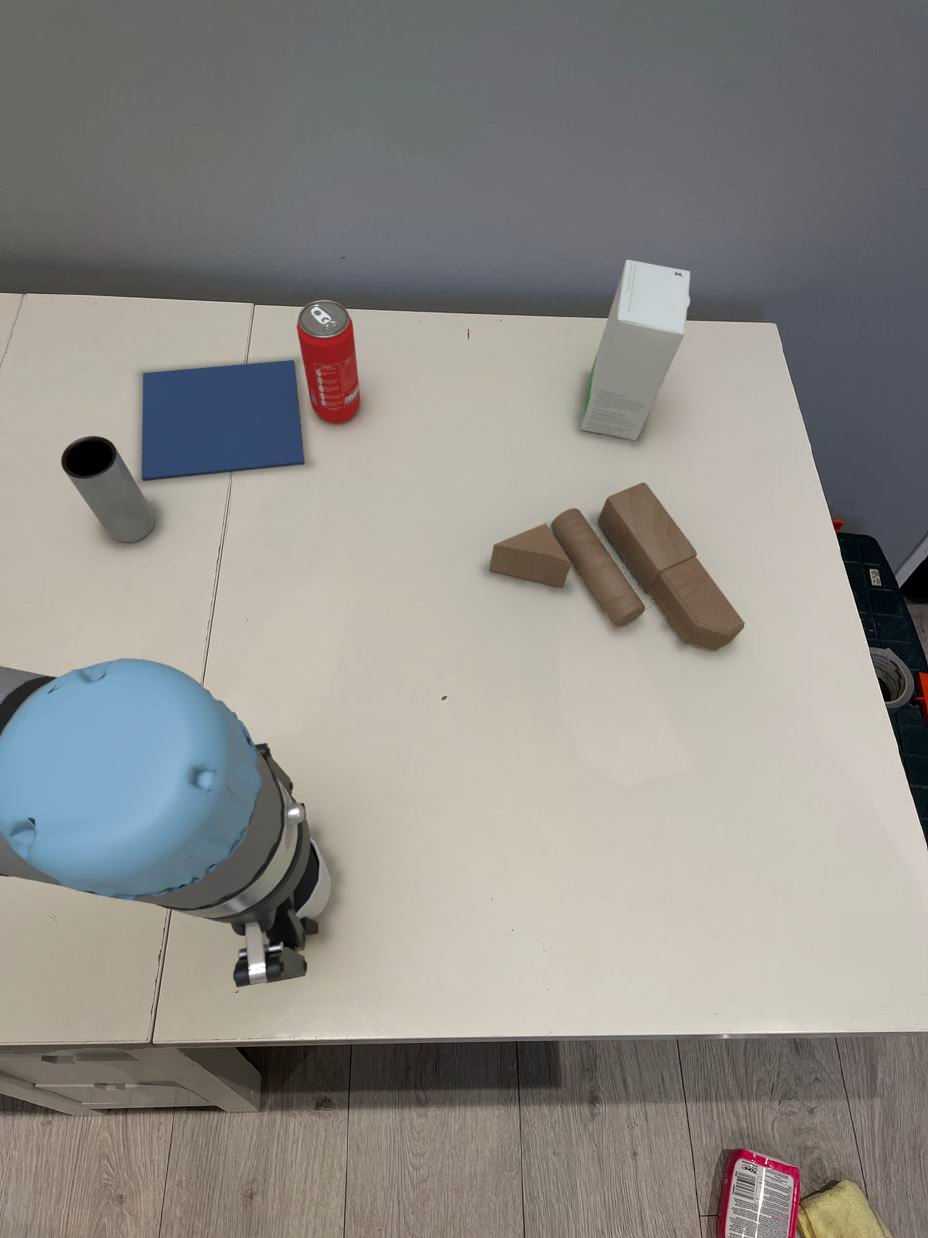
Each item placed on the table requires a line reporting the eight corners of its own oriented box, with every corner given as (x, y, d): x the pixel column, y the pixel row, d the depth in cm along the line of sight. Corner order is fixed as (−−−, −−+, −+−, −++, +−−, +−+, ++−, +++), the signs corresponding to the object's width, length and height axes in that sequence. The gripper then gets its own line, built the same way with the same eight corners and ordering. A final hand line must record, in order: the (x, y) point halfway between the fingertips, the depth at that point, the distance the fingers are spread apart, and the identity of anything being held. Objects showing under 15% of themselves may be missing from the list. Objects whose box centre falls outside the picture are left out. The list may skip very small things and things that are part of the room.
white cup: (343, 923, 57) (328, 913, 48) (255, 942, 56) (224, 936, 47) (331, 836, 60) (315, 811, 51) (247, 853, 59) (216, 832, 50)
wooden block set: (643, 466, 71) (756, 617, 64) (627, 500, 76) (731, 644, 69) (488, 529, 67) (593, 699, 60) (483, 561, 72) (579, 720, 65)
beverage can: (331, 434, 77) (317, 347, 67) (302, 404, 79) (284, 314, 68) (370, 410, 79) (363, 321, 68) (341, 381, 81) (329, 290, 70)
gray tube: (116, 501, 72) (72, 431, 63) (161, 507, 72) (124, 439, 63) (100, 539, 70) (51, 474, 61) (146, 546, 70) (105, 482, 61)
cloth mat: (142, 480, 74) (141, 478, 73) (144, 375, 79) (143, 372, 79) (304, 463, 76) (303, 461, 75) (294, 362, 81) (293, 359, 81)
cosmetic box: (589, 375, 83) (624, 254, 69) (647, 387, 83) (693, 267, 69) (579, 433, 79) (614, 317, 65) (640, 444, 79) (687, 331, 65)
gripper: (317, 1035, 33) (358, 1011, 54) (287, 655, 41) (333, 762, 62) (145, 1069, 32) (255, 1031, 53) (149, 675, 40) (243, 776, 61)
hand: (297, 886), depth 58 cm, fingers closed on white cup, 6 cm apart
